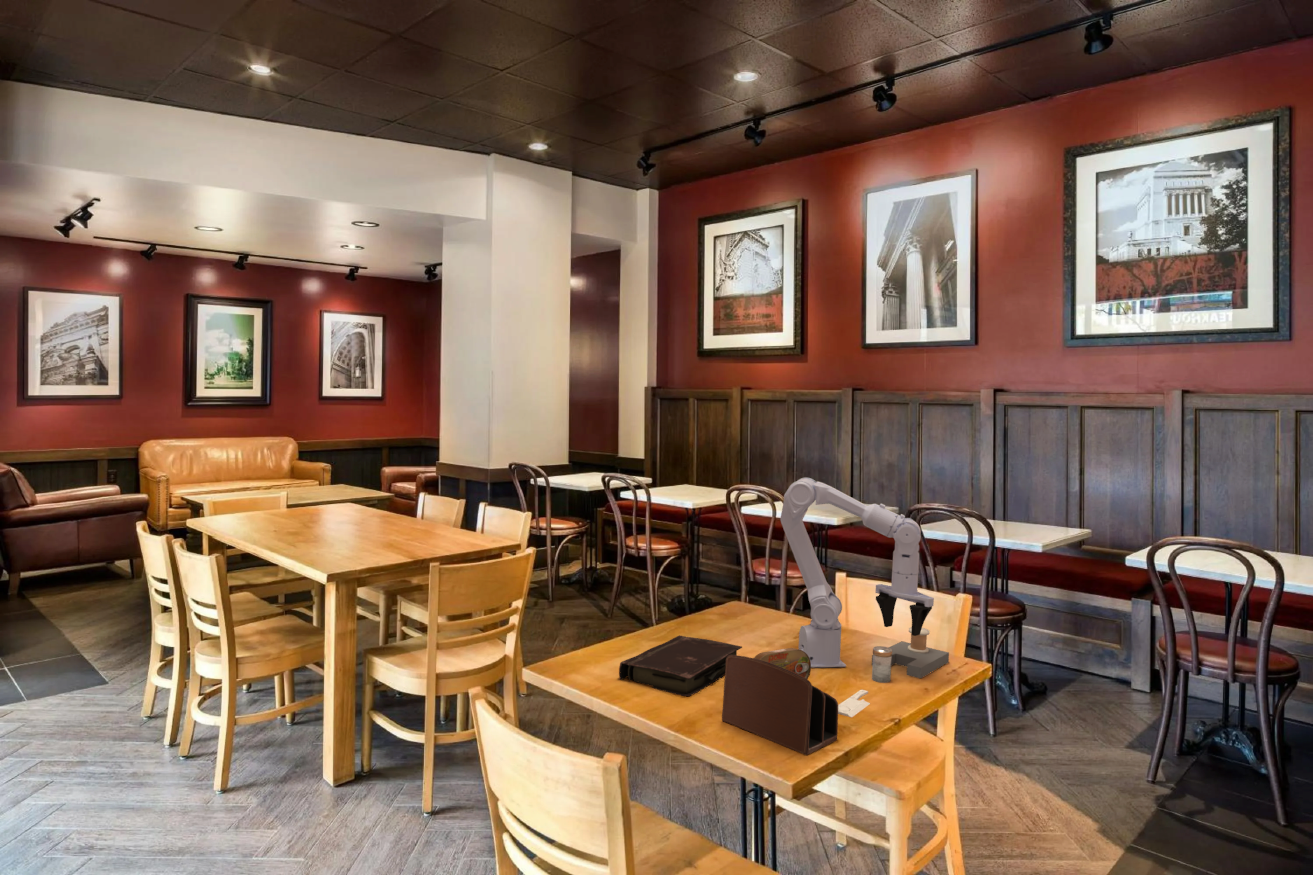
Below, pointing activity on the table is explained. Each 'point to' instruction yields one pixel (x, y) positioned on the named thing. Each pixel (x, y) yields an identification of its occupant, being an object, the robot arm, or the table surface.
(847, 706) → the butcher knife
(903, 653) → the notched board
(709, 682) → the diary
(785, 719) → the letter holder
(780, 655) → the tin
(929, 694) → the table surface
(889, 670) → the peg
